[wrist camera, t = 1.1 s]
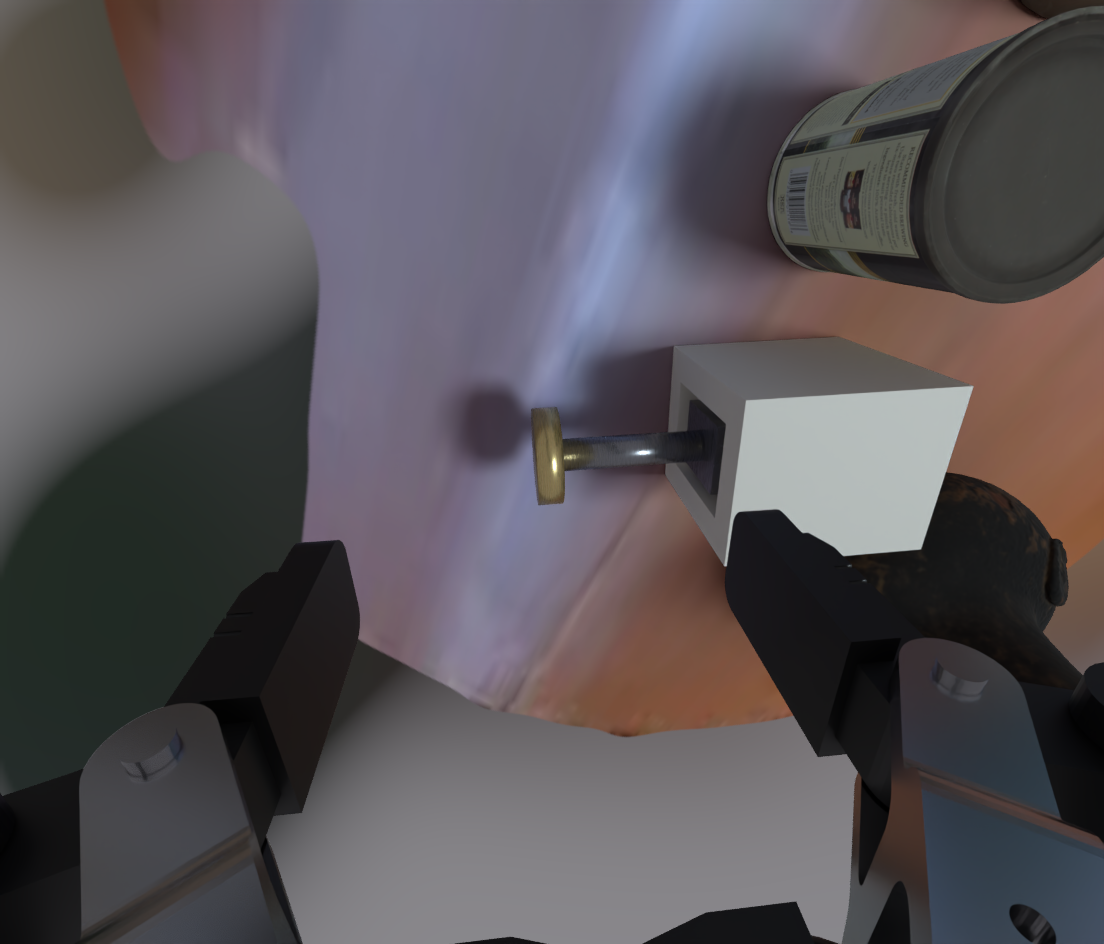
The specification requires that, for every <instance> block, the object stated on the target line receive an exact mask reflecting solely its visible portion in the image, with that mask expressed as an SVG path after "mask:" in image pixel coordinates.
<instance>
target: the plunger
mask: <svg viewBox="0 0 1104 944" xmlns="http://www.w3.org/2000/svg"><path fill="white" fill-rule="evenodd" d="M531 427H532V447H533V462H534V474H535V485H536V494H537V501H538V505H549V504H562V503H563V502H564V495H565V472H564V471H572V470H586V469H600V468H614V467H628V466H642V465H656V464H670V463H684V462H686V463H687V464H688V466H689V467H690V468H691V470H692V471H693V472H694V474H695V475H696V476H697V478H698V479H699V480H700V482H701V483H702V484H703V485H704V487H705V488H706V489H707V491H708V492H709V493H710V495H713V494H718V489H719V480H720V472H721V463H722V455H723V446H724V438H725V429H726V423H724V422H723V421H722V420H721V419H720V418H719V417H718V416H717V415H716V414H715V413H714V412H713V411H711V410H710V409H709V408H708V407H707V406H706V405H705V404H704V403H703V402H702V401H701V400H690V403H689V415H688V427H687V431H675V432H661V433H646V434H631V435H616V436H601V437H586V438H571V439H562V432H561V424H560V418H559V413H558V409H557V407H550V408H534V409H531Z"/></svg>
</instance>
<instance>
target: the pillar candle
mask: <svg viewBox="0 0 1104 944" xmlns="http://www.w3.org/2000/svg"><path fill="white" fill-rule="evenodd" d="M1021 1H1022V3H1023V4H1024V5H1025V6H1026V7H1027V8H1029V9H1031V10H1032V11H1034V12H1035V13H1037V14H1038V15H1040V16H1042V17H1045V18H1048V19H1049V18H1051V17H1054V16H1056V15H1059V14H1061V13H1064V12H1068V11H1071V10H1075V9H1079V8H1085V7H1091V6H1104V0H1021Z"/></svg>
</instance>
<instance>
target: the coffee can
mask: <svg viewBox="0 0 1104 944" xmlns="http://www.w3.org/2000/svg"><path fill="white" fill-rule="evenodd" d="M767 208H768V217H769V222H770V226H771V229H772V232H773V235H774V237H775V239H776V242H777V243H778V245H779V246H780V248H781V249H782V250H783V251H784V253H785V254H786V255H787V256H788V257H789V258H791V259H792V260H793V261H794V262H796V263H797V264H799V265H801V266H803V267H805V268H808V269H811V270H815V271H819V272H834V273H841V274H847V275H852V276H858V277H864V278H870V279H875V280H881V281H888V282H893V283H899V284H904V285H911V286H916V287H922V288H928V289H934V290H940V291H946V292H951V293H956V294H958V295H960V296H963V297H965V298H969V299H973V300H977V301H981V302H987V303H1002V304H1003V303H1015V302H1021V301H1026V300H1030V299H1034V298H1037V297H1040V296H1043V295H1045V294H1047V293H1050V292H1052V291H1054V290H1056V289H1058V288H1060V287H1062V286H1064V285H1066V284H1067V283H1069V282H1071V281H1072V280H1074V279H1075V278H1077V277H1078V276H1080V275H1081V274H1083V273H1084V272H1086V271H1087V270H1088V269H1090V268H1091V267H1092V266H1093V265H1094V264H1095V263H1097V262H1098V261H1099V260H1101V259H1102V258H1103V257H1104V6H1091V7H1085V8H1079V9H1075V10H1071V11H1068V12H1064V13H1061V14H1059V15H1056V16H1054V17H1051V18H1049V19H1046V20H1044V21H1042V22H1040V23H1038V24H1036V25H1034V26H1032V27H1029V28H1027V29H1026V30H1024V31H1022V32H1020V33H1018V34H1015V35H1012V36H1009V37H1006V38H1003V39H1000V40H997V41H994V42H991V43H989V44H986V45H983V46H980V47H977V48H974V49H971V50H968V51H965V52H963V53H960V54H957V55H954V56H951V57H948V58H946V59H943V60H940V61H937V62H934V63H931V64H928V65H925V66H922V67H919V68H916V69H913V70H911V71H908V72H905V73H902V74H899V75H896V76H893V77H890V78H888V79H885V80H882V81H879V82H876V83H873V84H870V85H867V86H864V87H862V88H859V89H853V90H849V91H845V92H842V93H839V94H837V95H835V96H832V97H830V98H829V99H827V100H825V101H823V102H822V103H820V104H819V105H817V106H816V107H815V108H813V109H812V110H810V111H809V112H808V113H807V114H806V115H805V116H804V117H803V119H802V120H801V121H800V122H799V123H798V124H797V125H796V126H795V127H794V129H793V130H792V131H791V133H790V134H789V135H788V137H787V138H786V140H785V142H784V143H783V145H782V147H781V149H780V151H779V153H778V155H777V157H776V160H775V162H774V165H773V168H772V172H771V175H770V179H769V186H768V196H767Z"/></svg>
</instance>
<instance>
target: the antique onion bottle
mask: <svg viewBox="0 0 1104 944" xmlns="http://www.w3.org/2000/svg"><path fill="white" fill-rule="evenodd" d="M1062 544H1063V542H1061V541H1060V540H1059V539H1052V538H1051V536H1050V535H1049V533H1048V532H1047V530H1046V528H1045V527H1044V526H1043V524H1042V523H1041V521H1040V520H1039V519H1038V518H1037V517H1036V515H1035V514H1034V513H1033V512H1032V511H1031V510H1030V509H1029V508H1027V507H1026V506H1025V505H1024V504H1022V503H1021V502H1020V501H1019V500H1018V499H1016V498H1015V497H1013V496H1012V495H1010V494H1009V493H1007V492H1006V491H1004V490H1002V489H1000V488H998V487H996V486H995V485H992V484H990V483H987V482H984V481H982V480H979V479H976V478H972V477H968V476H965V475H960V474H954V473H947V472H946V473H945V476H944V479H943V483H942V486H941V489H940V492H939V495H938V498H937V501H936V504H935V507H934V511H933V514H932V517H931V520H930V523H929V526H928V529H927V532H926V535H925V538H924V542H923V545H922V548H921V549H919V550H908V551H896V552H884V553H873V554H861V555H850V556H844V557H845V558H846V559H847V560H848V561H849V562H850V563H851V564H852V568H856V569H857V570H858V571H859V572H860V573H861V574H862V575H863V576H864V577H865V578H866V579H867V583H868V584H870V583H871V584H872V585H873V586H874V587H875V588H876V589H877V590H878V591H879V592H880V593H881V594H882V595H883V596H884V597H885V598H886V599H887V600H888V601H889V602H890V603H891V604H892V605H893V606H894V607H895V608H896V609H897V610H898V611H899V612H900V613H901V614H902V615H903V616H904V617H905V618H906V619H907V620H908V621H909V622H910V623H911V624H912V625H913V626H914V627H915V628H916V629H917V630H918V631H919V632H920V633H921V634H922V635H923V636H924V637H925V638H937V639H944V640H949V641H953V642H956V643H959V644H963V645H965V646H968V647H970V648H973V649H975V650H977V651H979V652H981V653H983V654H985V655H986V656H988V657H990V658H991V659H993V660H995V661H996V662H997V663H999V664H1000V665H1002V666H1003V667H1004V668H1005V669H1006V670H1007V671H1009V672H1010V673H1011V674H1012V676H1013V677H1014V678H1015V679H1016V680H1017V681H1018V682H1025V683H1031V684H1037V685H1044V686H1050V687H1057V688H1063V689H1069V690H1075V689H1076V687H1077V685H1078V684H1079V682H1080V680H1081V678H1082V676H1083V675H1082V674H1081V673H1080V672H1079V671H1078V670H1077V669H1076V668H1075V667H1074V666H1073V665H1072V664H1071V663H1070V662H1069V661H1068V660H1067V659H1066V658H1065V657H1064V656H1063V655H1062V654H1061V652H1060V651H1059V650H1058V649H1057V648H1056V647H1055V646H1054V645H1053V644H1052V643H1051V642H1050V641H1049V639H1048V638H1047V637H1046V636H1045V635H1044V633H1043V630H1044V629H1045V628H1046V626H1047V624H1048V623H1049V621H1050V619H1051V617H1052V616H1053V613H1054V611H1055V608H1056V606H1062V605H1064V604H1065V602H1066V600H1067V597H1068V576H1067V567H1066V563H1067V557H1066V551H1065V549H1064V548H1063V545H1062Z"/></svg>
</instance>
